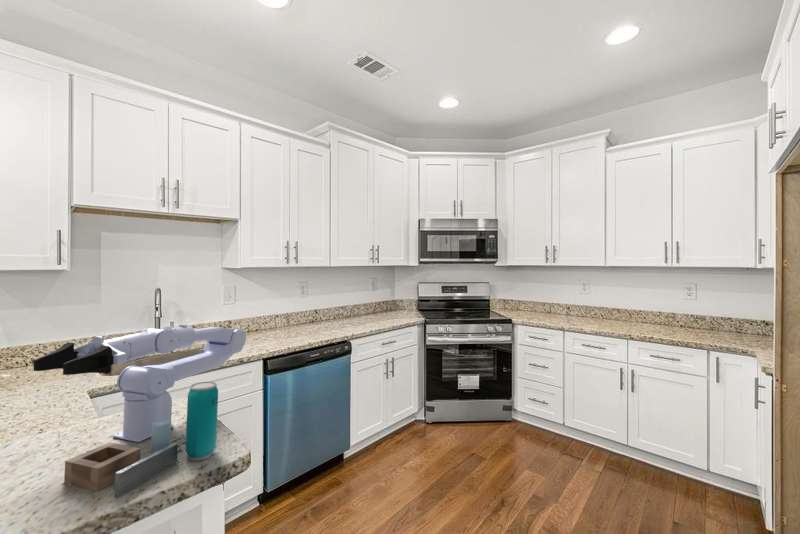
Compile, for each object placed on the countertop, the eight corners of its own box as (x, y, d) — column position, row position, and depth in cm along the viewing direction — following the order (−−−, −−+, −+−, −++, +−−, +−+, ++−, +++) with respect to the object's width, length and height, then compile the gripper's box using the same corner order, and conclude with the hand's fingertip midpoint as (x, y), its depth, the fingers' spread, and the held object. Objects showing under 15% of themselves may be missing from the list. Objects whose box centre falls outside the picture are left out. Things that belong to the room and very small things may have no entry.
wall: (173, 462, 76) (174, 442, 76) (177, 463, 75) (178, 443, 75) (114, 495, 64) (115, 472, 64) (118, 497, 64) (119, 473, 64)
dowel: (160, 451, 80) (162, 419, 80) (173, 454, 79) (175, 421, 79) (146, 459, 76) (148, 425, 77) (159, 461, 76) (160, 427, 76)
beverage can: (219, 448, 82) (222, 381, 82) (210, 461, 76) (213, 389, 77) (191, 449, 81) (194, 381, 81) (180, 463, 75) (183, 389, 76)
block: (109, 461, 75) (110, 442, 75) (139, 468, 73) (140, 448, 73) (64, 483, 67) (65, 461, 67) (96, 491, 65) (98, 468, 65)
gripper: (95, 329, 84) (21, 343, 71) (146, 334, 80) (77, 349, 67) (96, 360, 84) (22, 379, 71) (146, 366, 81) (78, 387, 68)
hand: (49, 367), depth 69 cm, fingers open, 7 cm apart
